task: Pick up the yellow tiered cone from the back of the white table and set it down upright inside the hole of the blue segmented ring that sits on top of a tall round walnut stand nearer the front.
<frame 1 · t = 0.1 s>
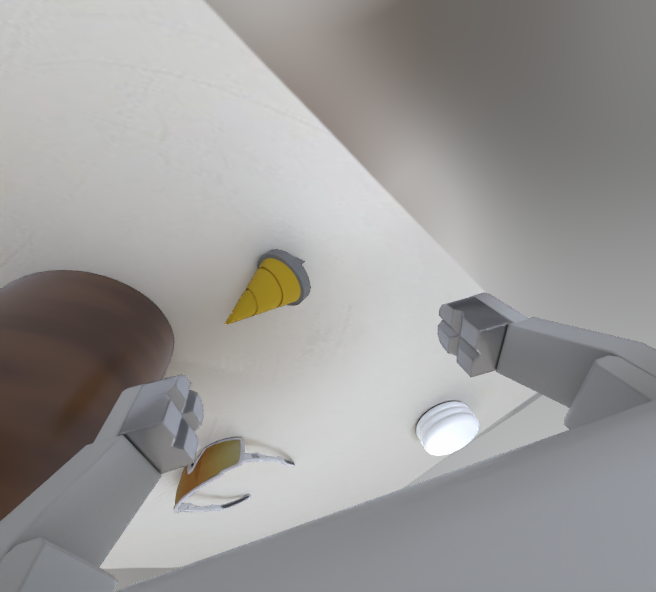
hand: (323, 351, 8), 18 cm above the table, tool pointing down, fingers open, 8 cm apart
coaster: (440, 418, 46), on the table
sunglasses: (236, 465, 40), on the table
yellow tiered cone: (273, 274, 26), on the table
stand: (90, 338, 25), on the table
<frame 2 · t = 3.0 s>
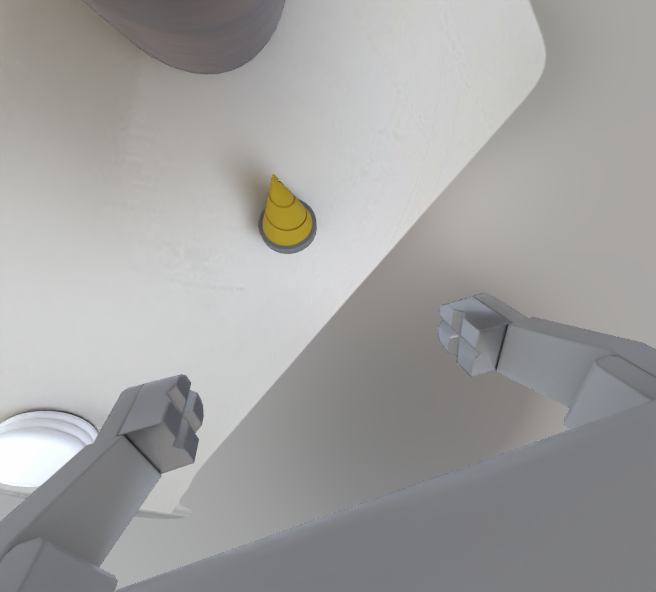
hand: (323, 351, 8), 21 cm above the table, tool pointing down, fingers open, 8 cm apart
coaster: (53, 434, 33), on the table
yellow tiered cone: (278, 211, 26), on the table
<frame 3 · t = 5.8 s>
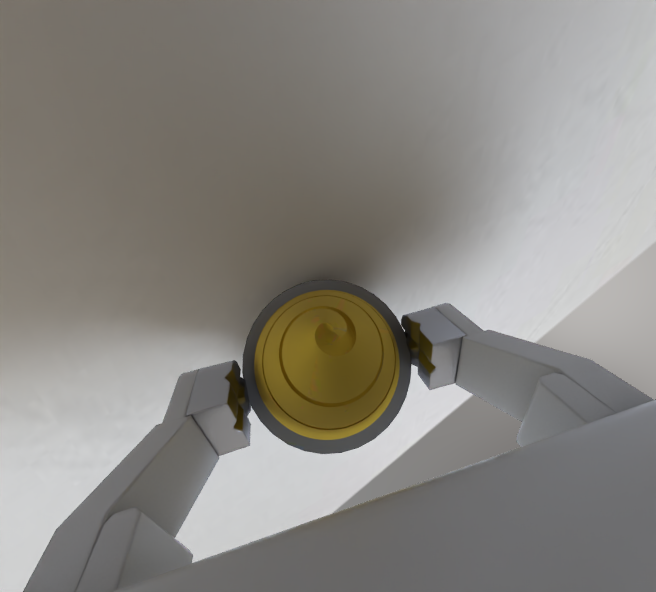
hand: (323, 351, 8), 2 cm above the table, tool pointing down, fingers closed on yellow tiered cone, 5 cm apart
yellow tiered cone: (296, 303, 10), on the table, touching gripper
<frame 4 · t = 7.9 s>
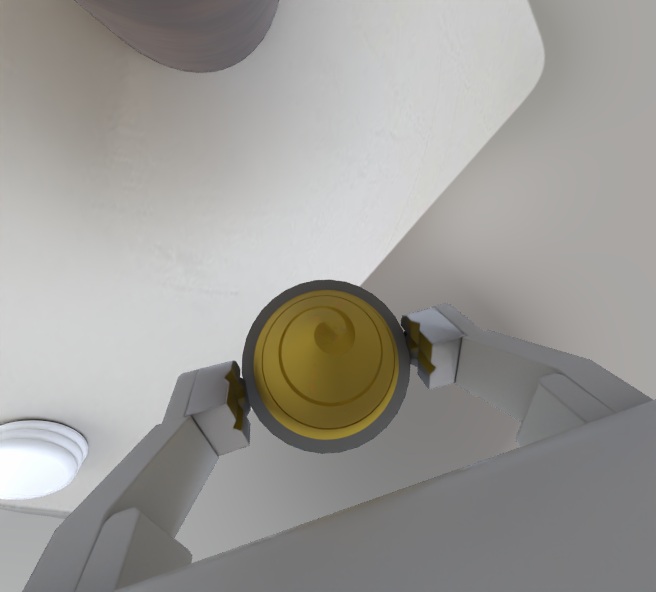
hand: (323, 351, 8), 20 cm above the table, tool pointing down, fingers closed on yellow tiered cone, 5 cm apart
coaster: (40, 444, 32), on the table
yellow tiered cone: (295, 303, 10), point 18 cm above the table, touching gripper
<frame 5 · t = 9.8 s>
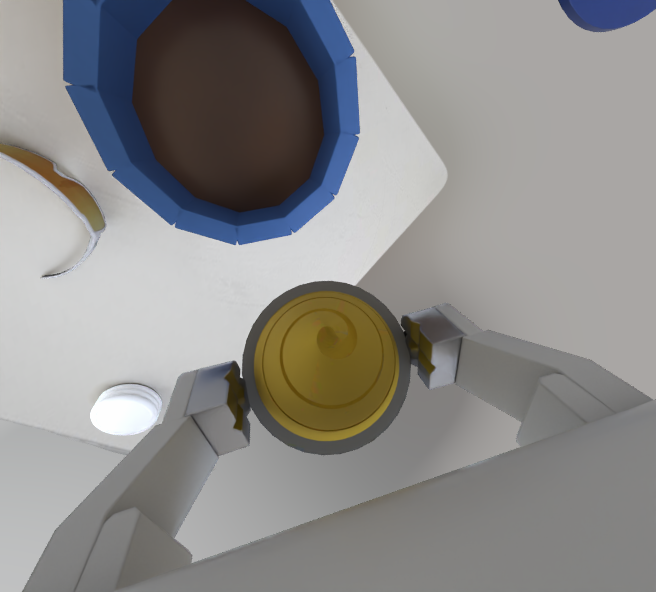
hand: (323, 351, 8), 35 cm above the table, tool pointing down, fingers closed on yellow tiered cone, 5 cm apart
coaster: (132, 401, 49), on the table
sunglasses: (35, 212, 32), on the table
yellow tiered cone: (295, 305, 10), point 32 cm above the table, touching gripper
stand: (245, 133, 34), on the table
blue segmented ring: (237, 120, 17), resting on stand
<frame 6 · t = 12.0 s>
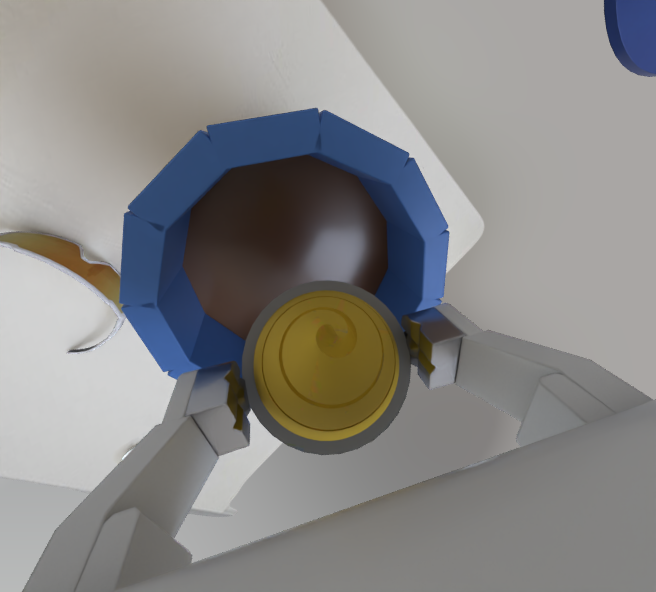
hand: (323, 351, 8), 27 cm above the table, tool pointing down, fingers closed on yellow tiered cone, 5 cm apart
sunglasses: (61, 291, 31), on the table
yellow tiered cone: (295, 304, 10), point 25 cm above the table, touching gripper
stand: (275, 203, 32), on the table
blue segmented ring: (294, 266, 15), resting on stand
when the fingers open (22 cm above the table, at t = 13.8 s): yellow tiered cone stays where it is, resting on stand.
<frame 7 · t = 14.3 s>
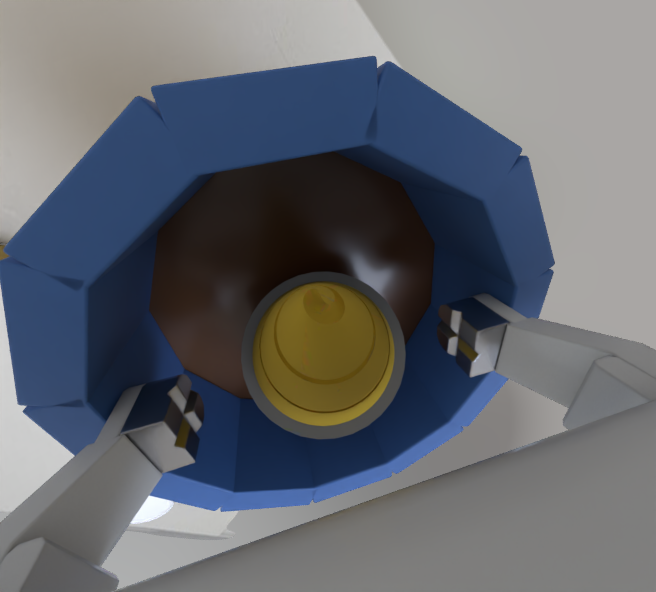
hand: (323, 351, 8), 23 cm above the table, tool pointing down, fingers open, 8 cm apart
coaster: (145, 482, 44), on the table
yellow tiered cone: (294, 295, 11), point 20 cm above the table, touching stand
stand: (277, 209, 28), on the table
blue segmented ring: (308, 305, 11), resting on stand
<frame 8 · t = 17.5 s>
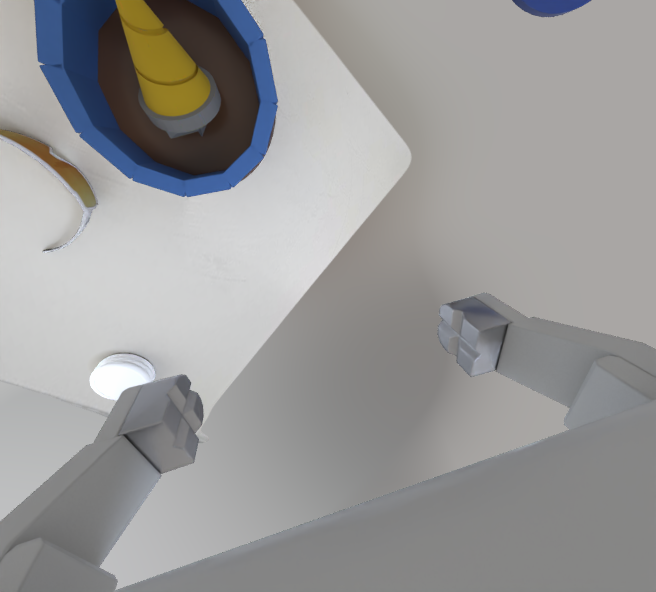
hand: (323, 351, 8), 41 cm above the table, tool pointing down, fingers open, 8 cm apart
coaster: (128, 370, 54), on the table
sunglasses: (36, 192, 37), on the table
yellow tiered cone: (176, 89, 20), point 20 cm above the table, touching stand
stand: (218, 119, 37), on the table
blue segmented ring: (184, 95, 20), resting on stand
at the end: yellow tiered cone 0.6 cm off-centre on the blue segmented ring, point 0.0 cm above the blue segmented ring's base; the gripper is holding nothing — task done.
